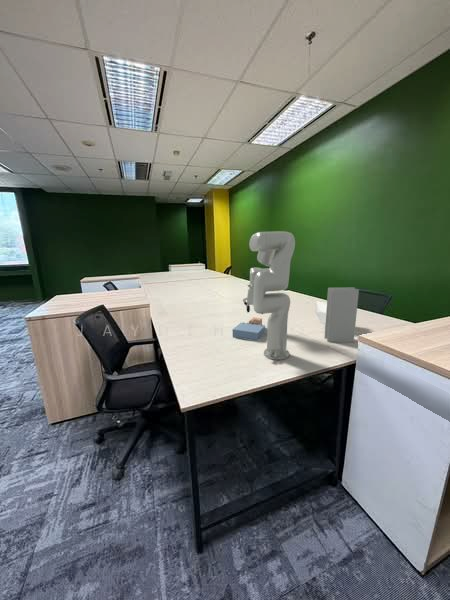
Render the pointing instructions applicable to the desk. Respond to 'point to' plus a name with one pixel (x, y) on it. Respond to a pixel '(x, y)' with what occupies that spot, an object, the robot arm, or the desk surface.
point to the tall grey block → (341, 314)
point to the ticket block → (249, 331)
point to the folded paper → (321, 311)
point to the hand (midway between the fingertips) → (255, 312)
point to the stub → (256, 321)
